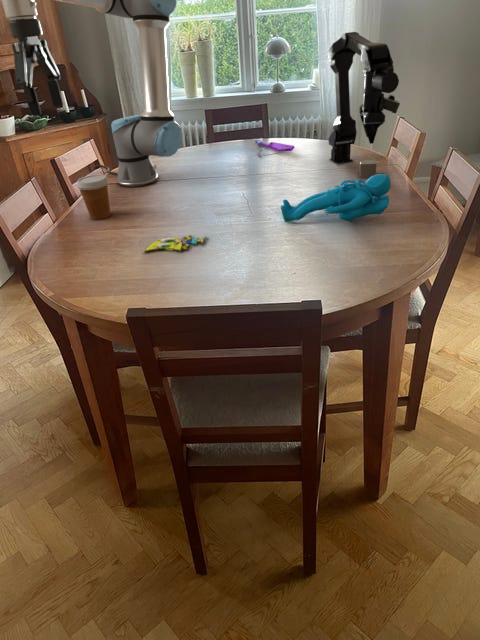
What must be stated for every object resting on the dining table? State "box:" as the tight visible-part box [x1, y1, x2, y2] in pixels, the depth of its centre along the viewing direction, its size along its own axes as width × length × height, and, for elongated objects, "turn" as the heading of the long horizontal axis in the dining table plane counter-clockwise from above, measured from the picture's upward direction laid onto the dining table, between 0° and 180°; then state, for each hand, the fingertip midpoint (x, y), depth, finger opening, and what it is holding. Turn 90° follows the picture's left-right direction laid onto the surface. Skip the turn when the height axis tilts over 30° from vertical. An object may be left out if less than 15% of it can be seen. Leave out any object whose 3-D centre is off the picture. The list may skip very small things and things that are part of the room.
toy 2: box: [280, 173, 392, 223], centre depth 134 cm, size 17×11×30 cm
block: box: [358, 159, 377, 179], centre depth 167 cm, size 5×5×5 cm
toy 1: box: [144, 234, 207, 254], centre depth 130 cm, size 10×1×15 cm
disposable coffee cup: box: [76, 174, 111, 220], centre depth 151 cm, size 10×10×12 cm
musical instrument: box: [254, 139, 295, 156], centre depth 208 cm, size 24×2×20 cm
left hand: (48, 110), depth 131 cm, fingers open, 13 cm apart
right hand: (369, 140), depth 162 cm, fingers open, 9 cm apart
